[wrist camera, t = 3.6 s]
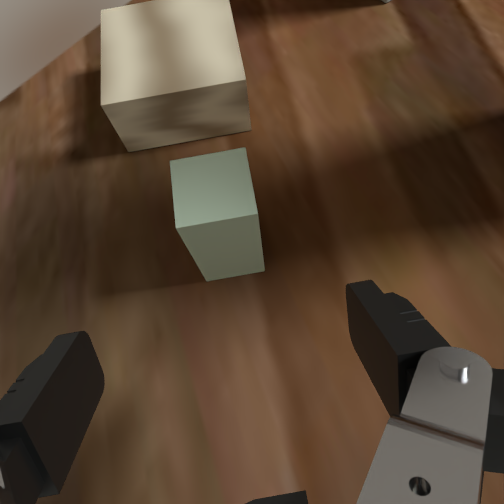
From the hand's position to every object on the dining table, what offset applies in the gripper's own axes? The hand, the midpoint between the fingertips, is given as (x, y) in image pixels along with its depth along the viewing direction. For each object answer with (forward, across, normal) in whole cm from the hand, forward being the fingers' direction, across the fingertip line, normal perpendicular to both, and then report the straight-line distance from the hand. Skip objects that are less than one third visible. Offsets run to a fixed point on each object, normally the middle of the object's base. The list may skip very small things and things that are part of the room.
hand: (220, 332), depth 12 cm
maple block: (+25, +2, -8) cm, 26 cm away
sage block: (+14, 0, +3) cm, 15 cm away
